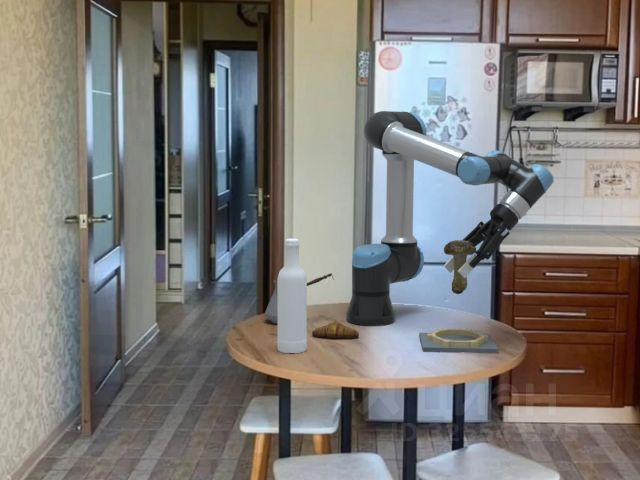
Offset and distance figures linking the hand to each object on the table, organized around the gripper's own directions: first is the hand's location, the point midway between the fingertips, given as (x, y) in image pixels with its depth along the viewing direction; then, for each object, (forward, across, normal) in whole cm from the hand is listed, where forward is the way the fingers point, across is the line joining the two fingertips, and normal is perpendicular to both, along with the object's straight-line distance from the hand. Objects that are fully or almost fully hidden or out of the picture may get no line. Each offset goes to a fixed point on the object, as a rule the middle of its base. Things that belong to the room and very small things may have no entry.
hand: (454, 271), depth 214 cm
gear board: (+13, 0, -16) cm, 21 cm away
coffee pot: (+38, +38, +9) cm, 55 cm away
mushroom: (+3, 0, -6) cm, 7 cm away
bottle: (+46, +7, +16) cm, 49 cm away
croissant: (+35, +17, +5) cm, 39 cm away
